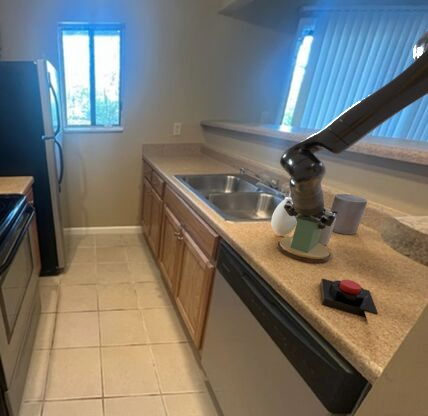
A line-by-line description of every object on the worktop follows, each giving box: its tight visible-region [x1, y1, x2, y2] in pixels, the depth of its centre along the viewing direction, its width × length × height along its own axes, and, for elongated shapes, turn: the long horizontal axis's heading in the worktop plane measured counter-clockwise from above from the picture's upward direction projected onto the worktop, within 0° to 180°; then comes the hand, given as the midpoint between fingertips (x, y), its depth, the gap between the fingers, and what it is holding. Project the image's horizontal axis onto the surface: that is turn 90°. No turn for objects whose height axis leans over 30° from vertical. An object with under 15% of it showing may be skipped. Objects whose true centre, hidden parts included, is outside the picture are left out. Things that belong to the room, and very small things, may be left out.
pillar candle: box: [329, 193, 369, 236], centre depth 108 cm, size 10×10×15 cm
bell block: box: [319, 278, 379, 319], centre depth 71 cm, size 10×10×4 cm
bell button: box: [339, 279, 362, 294], centre depth 70 cm, size 4×4×2 cm
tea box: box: [279, 215, 331, 259], centre depth 92 cm, size 14×14×13 cm
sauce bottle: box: [270, 190, 297, 237], centre depth 104 cm, size 8×8×18 cm
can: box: [318, 210, 336, 246], centre depth 99 cm, size 8×8×12 cm
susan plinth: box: [276, 240, 332, 265], centre depth 94 cm, size 15×15×2 cm
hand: (311, 223), depth 92 cm, fingers closed on tea box, 5 cm apart
